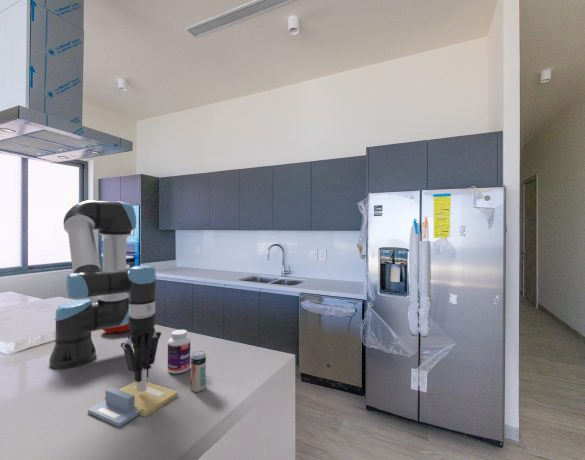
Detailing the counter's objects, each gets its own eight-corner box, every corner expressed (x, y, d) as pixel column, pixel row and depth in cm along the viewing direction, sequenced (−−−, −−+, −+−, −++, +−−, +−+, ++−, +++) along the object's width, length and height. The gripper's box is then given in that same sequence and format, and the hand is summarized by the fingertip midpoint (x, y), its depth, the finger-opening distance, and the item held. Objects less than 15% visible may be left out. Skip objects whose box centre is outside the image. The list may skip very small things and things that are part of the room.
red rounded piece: (95, 332, 153) (95, 312, 153) (129, 324, 165) (129, 306, 165) (106, 338, 144) (106, 318, 143) (141, 330, 156) (141, 311, 156)
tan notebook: (104, 400, 93) (105, 396, 93) (139, 382, 104) (139, 378, 104) (144, 416, 85) (144, 412, 85) (177, 395, 96) (177, 391, 96)
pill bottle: (182, 376, 108) (182, 336, 108) (162, 373, 110) (163, 334, 110) (194, 366, 116) (194, 329, 116) (175, 364, 118) (176, 327, 118)
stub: (87, 412, 86) (87, 395, 86) (108, 401, 92) (108, 385, 92) (119, 427, 80) (119, 408, 80) (139, 414, 86) (139, 397, 86)
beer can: (192, 385, 102) (192, 350, 102) (206, 384, 103) (207, 350, 103) (188, 393, 97) (189, 356, 97) (203, 392, 98) (204, 356, 98)
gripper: (131, 322, 87) (130, 403, 87) (167, 311, 98) (166, 383, 99) (114, 319, 90) (113, 397, 90) (151, 308, 102) (150, 378, 102)
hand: (141, 389), depth 94 cm, fingers closed
